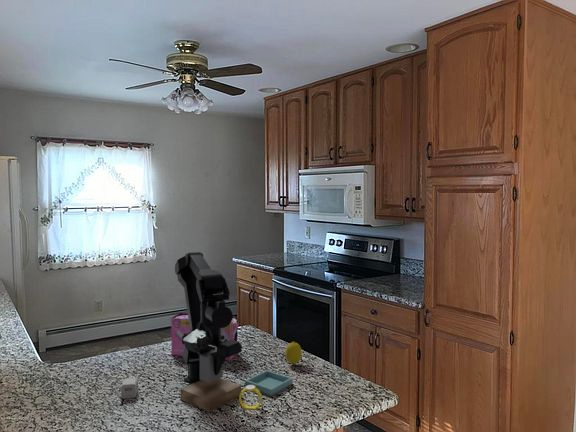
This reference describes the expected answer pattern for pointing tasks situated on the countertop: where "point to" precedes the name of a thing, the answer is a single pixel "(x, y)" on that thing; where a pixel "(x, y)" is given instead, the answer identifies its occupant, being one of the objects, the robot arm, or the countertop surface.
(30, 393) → the countertop surface
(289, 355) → the lemon
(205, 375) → the plug block
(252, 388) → the watch
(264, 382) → the teal tray
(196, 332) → the robot arm
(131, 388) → the usb wall charger
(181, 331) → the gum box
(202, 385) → the walnut dock
